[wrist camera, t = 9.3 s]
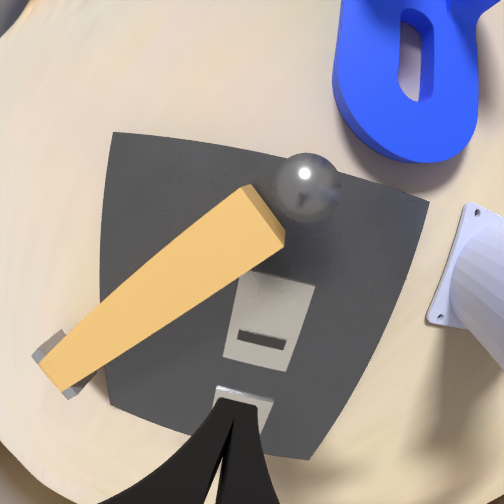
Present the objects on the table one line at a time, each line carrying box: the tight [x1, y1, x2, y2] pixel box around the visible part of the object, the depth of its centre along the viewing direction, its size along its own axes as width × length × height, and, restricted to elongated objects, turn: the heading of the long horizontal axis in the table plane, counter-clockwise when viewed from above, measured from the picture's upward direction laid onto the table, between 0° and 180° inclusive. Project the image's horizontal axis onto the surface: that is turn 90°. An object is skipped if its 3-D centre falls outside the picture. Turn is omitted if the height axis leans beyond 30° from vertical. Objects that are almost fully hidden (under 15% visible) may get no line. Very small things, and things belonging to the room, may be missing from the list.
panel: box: [100, 132, 430, 460], centre depth 15 cm, size 18×22×6 cm
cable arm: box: [32, 184, 285, 400], centre depth 15 cm, size 20×4×3 cm, turn 127°
